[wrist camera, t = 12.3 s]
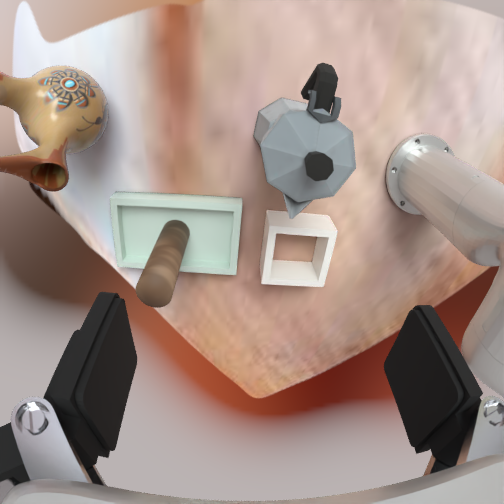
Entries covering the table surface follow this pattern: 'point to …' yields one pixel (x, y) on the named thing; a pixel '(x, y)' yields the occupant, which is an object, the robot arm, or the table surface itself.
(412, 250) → the table surface
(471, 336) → the robot arm
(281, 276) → the white square ring
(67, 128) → the ceramic vessel
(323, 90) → the coffee maker
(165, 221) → the tray
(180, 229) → the dowel
